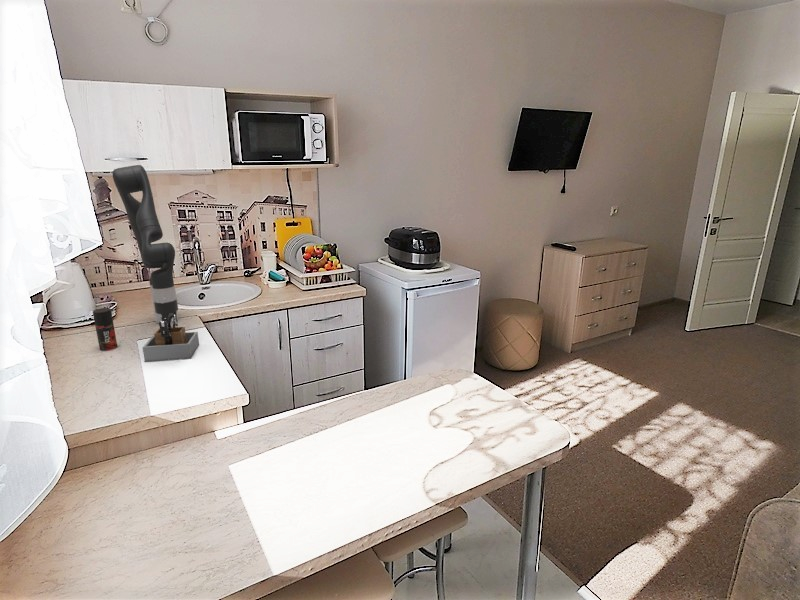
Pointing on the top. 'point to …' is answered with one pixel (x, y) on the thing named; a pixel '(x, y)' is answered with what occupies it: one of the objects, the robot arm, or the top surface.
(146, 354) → the crate large
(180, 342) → the crate small
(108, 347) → the deodorant
